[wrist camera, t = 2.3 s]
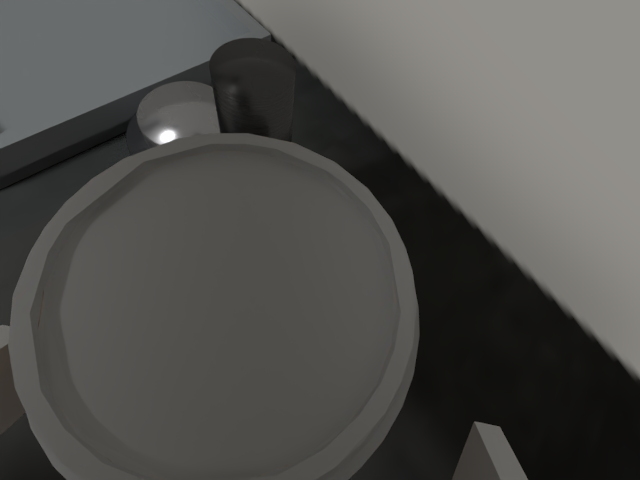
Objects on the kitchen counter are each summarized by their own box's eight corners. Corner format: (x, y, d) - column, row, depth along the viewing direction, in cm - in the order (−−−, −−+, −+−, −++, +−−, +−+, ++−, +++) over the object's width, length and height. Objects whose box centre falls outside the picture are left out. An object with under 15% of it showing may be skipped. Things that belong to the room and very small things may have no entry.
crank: (126, 119, 23) (48, -57, 15) (201, 85, 24) (168, -87, 17) (243, 263, 19) (223, 137, 11) (320, 212, 21) (349, 72, 13)
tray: (-128, 6, 28) (-162, -32, 26) (136, -64, 35) (127, -98, 33) (-17, 196, 22) (-49, 169, 20) (271, 65, 29) (271, 34, 27)
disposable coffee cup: (301, 256, 22) (327, 87, 12) (381, 423, 19) (523, 394, 8) (128, 321, 20) (-40, 177, 9) (182, 530, 16) (10, 697, 5)
